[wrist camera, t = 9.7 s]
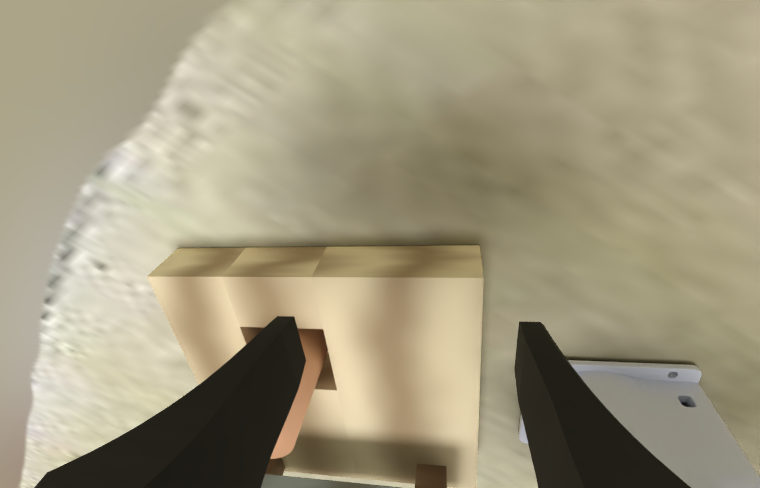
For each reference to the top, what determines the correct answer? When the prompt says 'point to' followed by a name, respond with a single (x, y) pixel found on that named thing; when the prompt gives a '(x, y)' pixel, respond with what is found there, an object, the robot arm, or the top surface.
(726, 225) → the top surface
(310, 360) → the peg
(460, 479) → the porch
